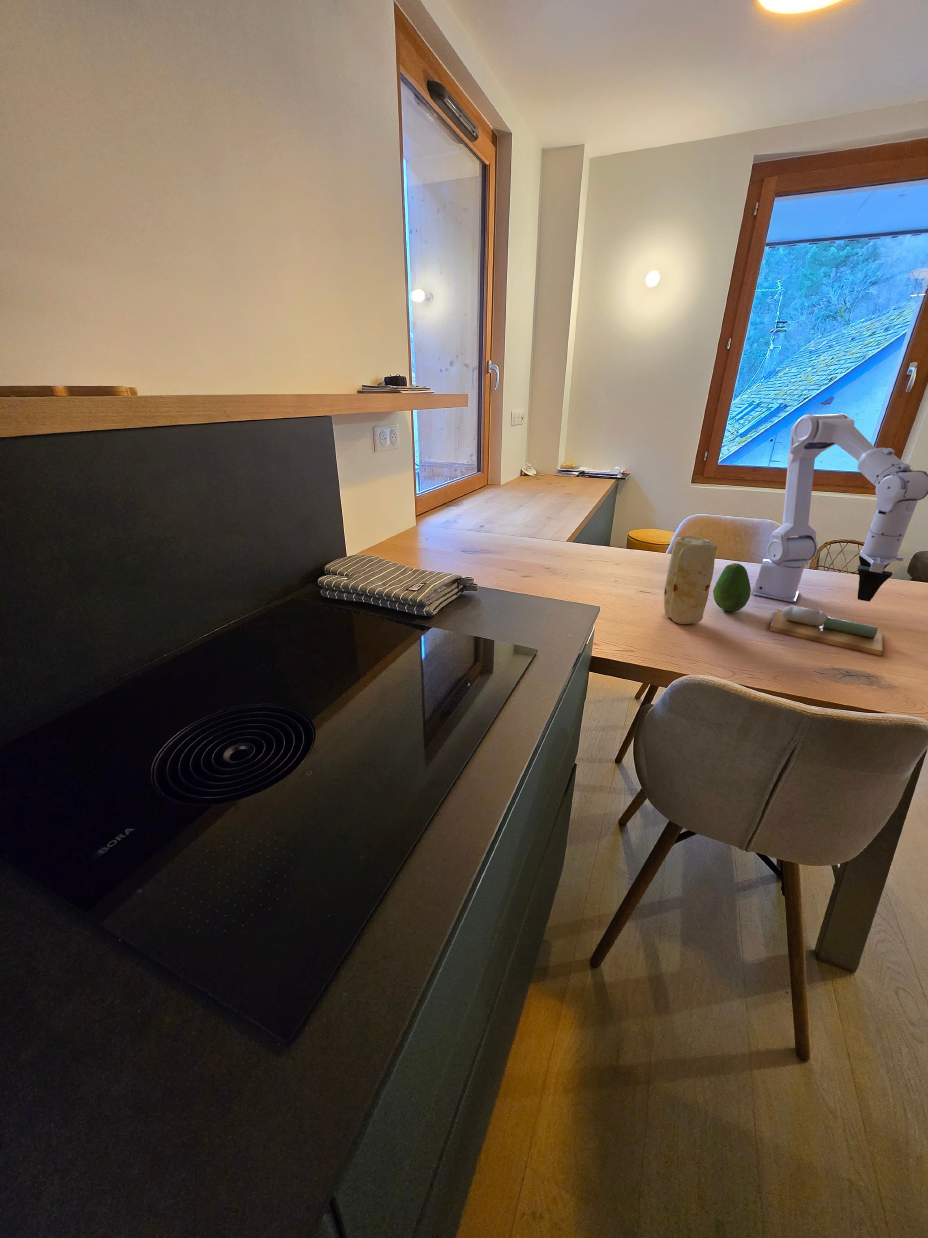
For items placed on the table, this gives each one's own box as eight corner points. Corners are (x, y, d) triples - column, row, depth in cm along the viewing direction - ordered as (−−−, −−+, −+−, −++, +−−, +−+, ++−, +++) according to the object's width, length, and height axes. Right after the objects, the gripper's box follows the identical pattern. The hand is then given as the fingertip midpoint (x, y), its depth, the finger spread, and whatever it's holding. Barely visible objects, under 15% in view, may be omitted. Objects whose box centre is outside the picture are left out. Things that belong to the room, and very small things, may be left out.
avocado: (717, 601, 127) (727, 556, 121) (749, 609, 122) (761, 563, 116) (704, 610, 122) (714, 564, 116) (738, 620, 117) (750, 572, 111)
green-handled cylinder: (873, 635, 106) (879, 620, 105) (873, 641, 103) (879, 625, 102) (781, 616, 116) (785, 601, 114) (779, 620, 113) (783, 606, 111)
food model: (706, 620, 117) (724, 538, 108) (696, 630, 112) (714, 545, 103) (665, 609, 122) (679, 531, 114) (654, 618, 118) (668, 537, 109)
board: (769, 630, 111) (770, 625, 111) (776, 613, 119) (777, 609, 119) (880, 655, 101) (882, 650, 100) (880, 635, 108) (881, 630, 108)
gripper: (914, 544, 93) (888, 610, 98) (910, 527, 103) (887, 587, 109) (867, 538, 96) (845, 602, 102) (868, 522, 107) (848, 581, 113)
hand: (863, 594), depth 106 cm, fingers open, 7 cm apart
